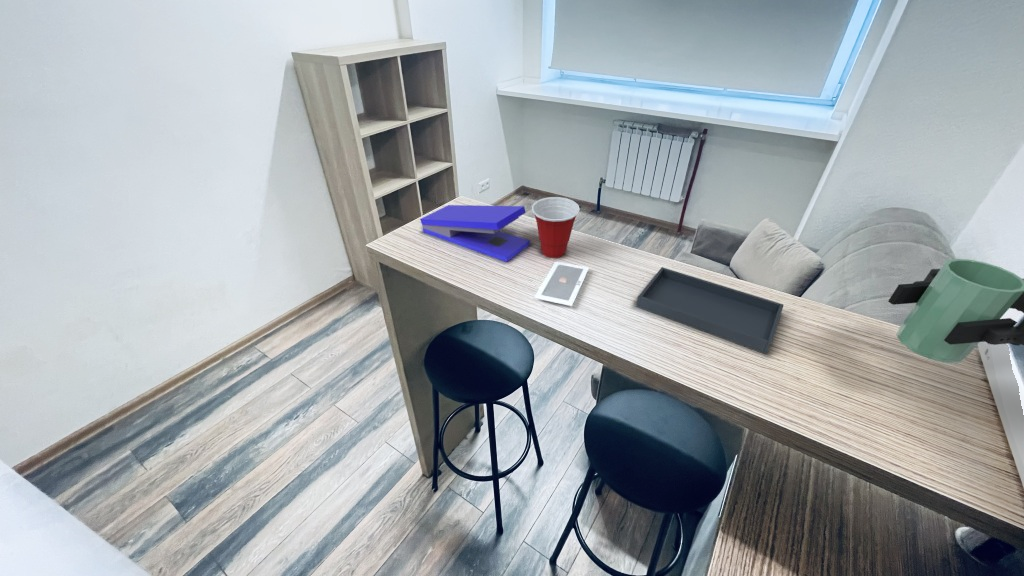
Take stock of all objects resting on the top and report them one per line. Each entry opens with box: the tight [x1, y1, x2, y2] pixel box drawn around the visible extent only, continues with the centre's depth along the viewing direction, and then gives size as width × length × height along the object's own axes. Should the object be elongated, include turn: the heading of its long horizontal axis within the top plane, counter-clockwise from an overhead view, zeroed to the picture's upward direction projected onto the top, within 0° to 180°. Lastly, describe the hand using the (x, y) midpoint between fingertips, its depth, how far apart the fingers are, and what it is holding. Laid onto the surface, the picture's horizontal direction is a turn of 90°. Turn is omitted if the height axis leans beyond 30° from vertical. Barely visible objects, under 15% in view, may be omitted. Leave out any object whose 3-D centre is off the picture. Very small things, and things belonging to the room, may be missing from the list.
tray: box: [635, 266, 784, 355], centre depth 78 cm, size 23×13×2 cm, turn 54°
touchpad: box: [533, 260, 590, 307], centre depth 86 cm, size 8×15×2 cm, turn 158°
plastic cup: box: [531, 196, 581, 259], centre depth 95 cm, size 11×11×12 cm
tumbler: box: [896, 258, 1024, 364], centre depth 50 cm, size 7×7×11 cm
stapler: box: [420, 204, 531, 263], centre depth 102 cm, size 12×28×10 cm, turn 55°
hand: (923, 312), depth 50 cm, fingers closed on tumbler, 7 cm apart
